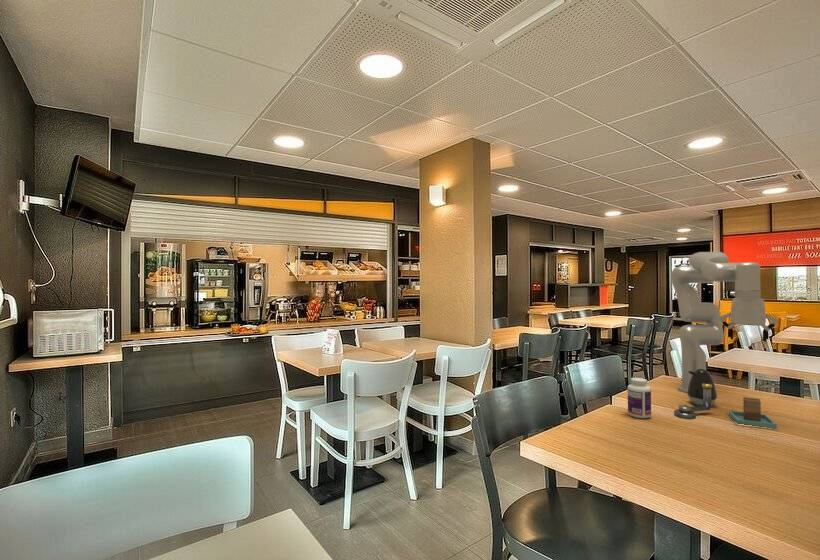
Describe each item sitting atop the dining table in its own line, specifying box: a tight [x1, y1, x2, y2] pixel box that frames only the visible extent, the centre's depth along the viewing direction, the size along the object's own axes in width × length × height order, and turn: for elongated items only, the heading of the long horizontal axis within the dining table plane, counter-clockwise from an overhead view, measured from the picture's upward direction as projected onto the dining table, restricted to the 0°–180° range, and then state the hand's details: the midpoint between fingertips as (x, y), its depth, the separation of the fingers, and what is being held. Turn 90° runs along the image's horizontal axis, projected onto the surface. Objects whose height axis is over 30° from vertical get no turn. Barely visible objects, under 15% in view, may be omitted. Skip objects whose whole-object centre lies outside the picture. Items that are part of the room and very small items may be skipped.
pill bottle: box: [627, 377, 652, 419], centre depth 160 cm, size 8×8×14 cm
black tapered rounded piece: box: [686, 369, 718, 406], centre depth 174 cm, size 10×10×15 cm
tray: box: [728, 410, 778, 429], centre depth 152 cm, size 11×11×2 cm
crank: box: [678, 383, 712, 413], centre depth 161 cm, size 15×4×10 cm, turn 104°
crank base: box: [673, 408, 697, 420], centre depth 160 cm, size 7×7×2 cm
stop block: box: [742, 396, 762, 422], centre depth 152 cm, size 4×4×8 cm
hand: (747, 340), depth 155 cm, fingers open, 9 cm apart
